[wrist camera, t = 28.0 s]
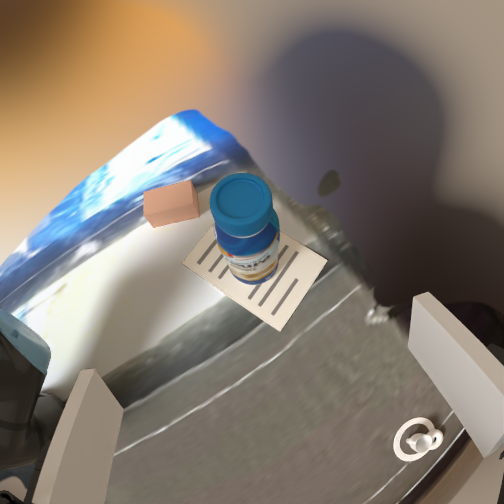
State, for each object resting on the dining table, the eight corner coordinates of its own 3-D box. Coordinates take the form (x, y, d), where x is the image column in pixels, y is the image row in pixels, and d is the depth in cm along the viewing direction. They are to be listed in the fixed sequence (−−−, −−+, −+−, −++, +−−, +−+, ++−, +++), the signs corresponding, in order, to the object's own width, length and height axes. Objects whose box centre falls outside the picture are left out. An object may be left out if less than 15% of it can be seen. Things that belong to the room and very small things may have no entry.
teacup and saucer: (444, 431, 37) (455, 434, 33) (417, 468, 35) (427, 474, 31) (412, 408, 39) (422, 411, 36) (383, 448, 38) (391, 453, 34)
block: (193, 203, 50) (143, 215, 50) (199, 217, 55) (153, 228, 55) (190, 180, 52) (143, 192, 52) (197, 195, 57) (153, 205, 57)
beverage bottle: (285, 245, 51) (289, 173, 32) (271, 293, 48) (267, 242, 30) (237, 233, 52) (217, 159, 34) (221, 278, 50) (188, 222, 31)
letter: (280, 331, 46) (280, 331, 46) (182, 263, 52) (181, 262, 51) (327, 261, 50) (327, 260, 49) (231, 203, 55) (230, 202, 55)
